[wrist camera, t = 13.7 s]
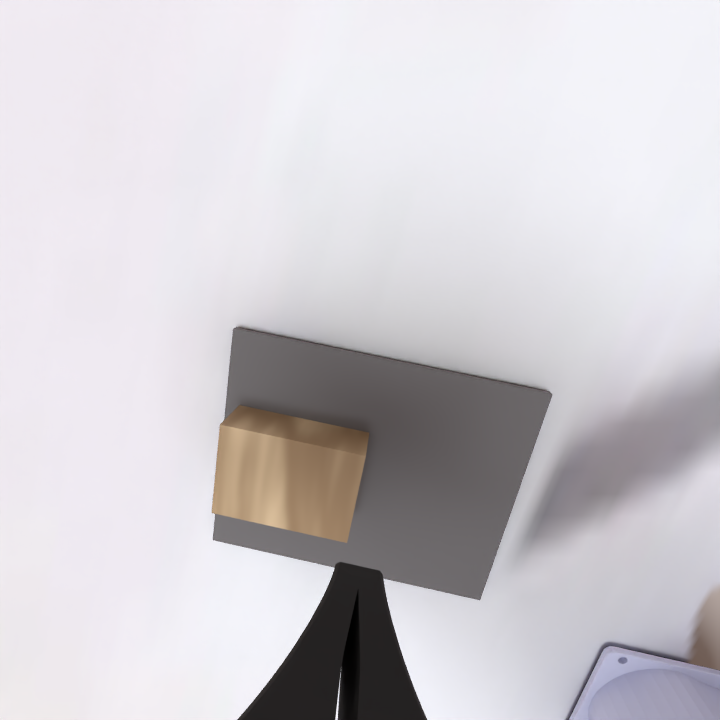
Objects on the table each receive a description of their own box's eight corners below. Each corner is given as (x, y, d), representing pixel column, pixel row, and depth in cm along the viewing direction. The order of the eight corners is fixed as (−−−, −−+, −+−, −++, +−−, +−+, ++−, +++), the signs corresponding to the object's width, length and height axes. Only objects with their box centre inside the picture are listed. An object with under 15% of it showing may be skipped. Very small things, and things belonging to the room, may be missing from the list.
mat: (549, 391, 20) (552, 394, 19) (478, 594, 24) (479, 600, 23) (236, 327, 20) (233, 328, 20) (215, 535, 24) (212, 539, 24)
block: (366, 455, 19) (219, 424, 19) (346, 543, 20) (211, 512, 20) (369, 432, 21) (239, 405, 21) (352, 512, 22) (230, 485, 23)
